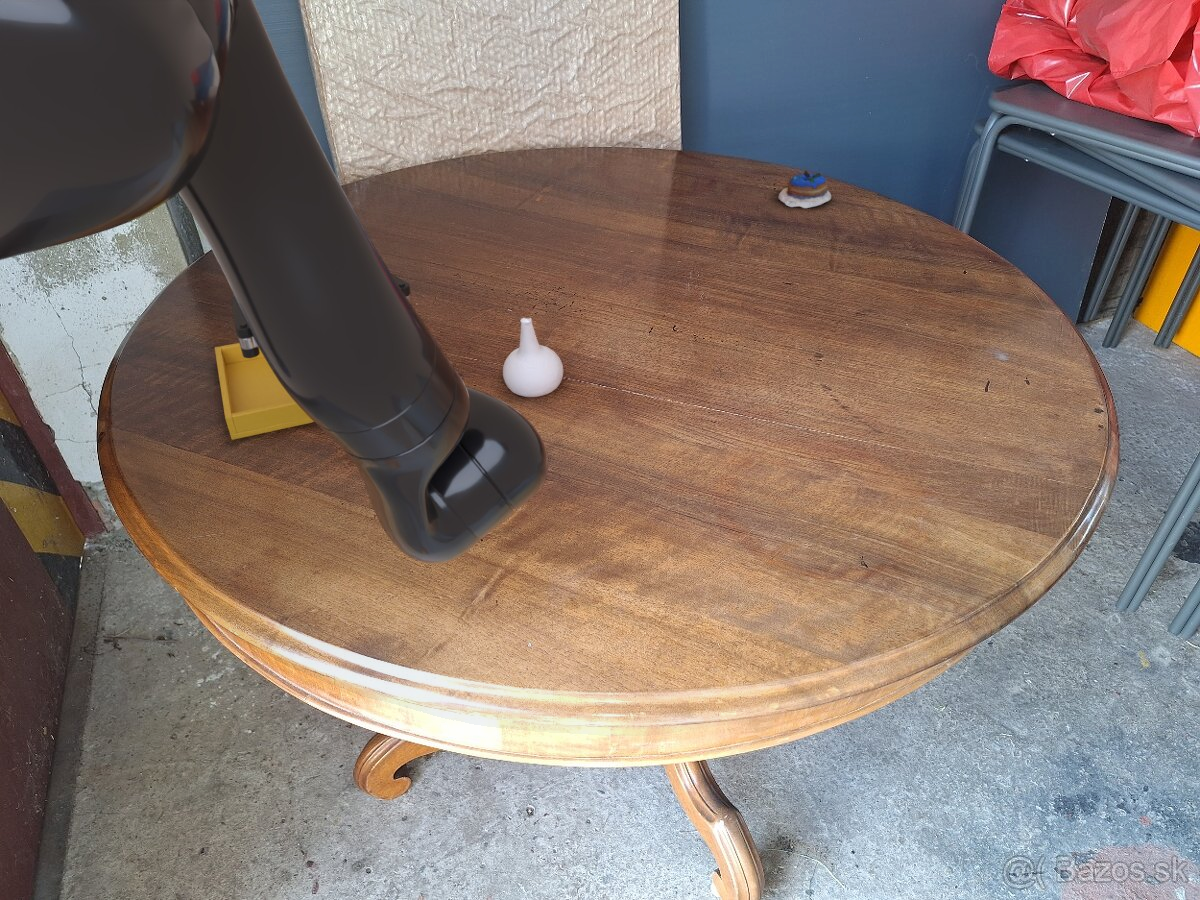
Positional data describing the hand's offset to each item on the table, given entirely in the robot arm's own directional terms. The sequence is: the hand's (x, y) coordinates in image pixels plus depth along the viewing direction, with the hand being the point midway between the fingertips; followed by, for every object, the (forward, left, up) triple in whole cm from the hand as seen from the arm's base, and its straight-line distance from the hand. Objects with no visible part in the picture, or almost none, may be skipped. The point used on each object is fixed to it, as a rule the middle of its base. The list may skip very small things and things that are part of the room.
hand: (290, 272), depth 75 cm
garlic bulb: (+22, +2, -18) cm, 28 cm away
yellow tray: (-1, +11, -18) cm, 21 cm away
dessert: (+77, +35, -18) cm, 86 cm away
